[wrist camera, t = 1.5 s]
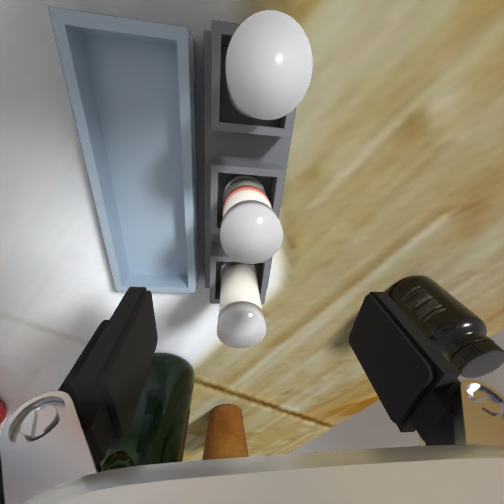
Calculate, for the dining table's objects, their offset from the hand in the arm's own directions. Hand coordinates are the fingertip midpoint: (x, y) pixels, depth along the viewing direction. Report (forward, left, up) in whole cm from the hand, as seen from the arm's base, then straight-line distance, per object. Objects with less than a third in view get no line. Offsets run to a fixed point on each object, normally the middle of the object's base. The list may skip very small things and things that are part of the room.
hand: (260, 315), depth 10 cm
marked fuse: (-1, 0, -17) cm, 17 cm away
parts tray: (-1, -9, -18) cm, 20 cm away
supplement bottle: (+13, +26, -18) cm, 34 cm away
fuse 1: (+8, 0, -17) cm, 19 cm away
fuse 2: (-10, 0, -17) cm, 19 cm away
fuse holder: (-1, 0, -18) cm, 18 cm away
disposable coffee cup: (+45, 0, -18) cm, 49 cm away
